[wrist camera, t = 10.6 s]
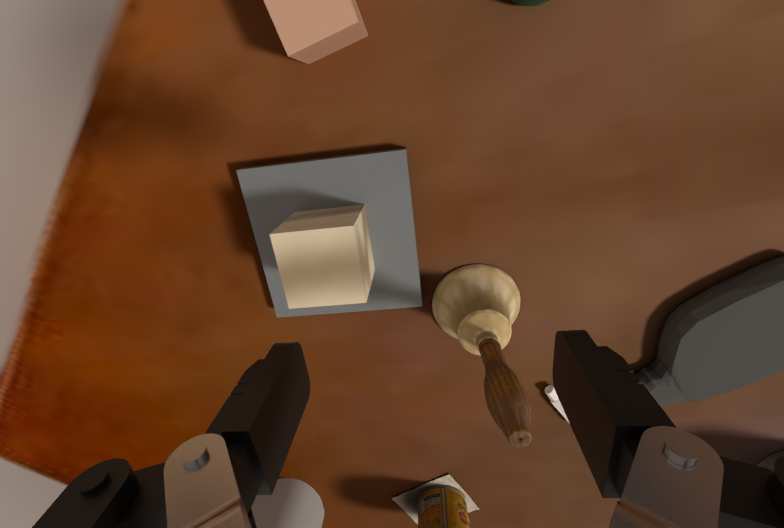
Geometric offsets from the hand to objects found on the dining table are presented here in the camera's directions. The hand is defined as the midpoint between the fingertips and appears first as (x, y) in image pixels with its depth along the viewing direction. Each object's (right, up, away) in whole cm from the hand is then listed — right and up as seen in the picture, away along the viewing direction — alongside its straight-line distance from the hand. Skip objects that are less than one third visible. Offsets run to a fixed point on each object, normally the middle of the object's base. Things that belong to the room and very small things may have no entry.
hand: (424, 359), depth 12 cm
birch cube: (-6, +5, +21) cm, 22 cm away
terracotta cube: (-6, +21, +15) cm, 27 cm away
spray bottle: (+27, -6, +25) cm, 37 cm away
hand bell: (+7, -1, +24) cm, 25 cm away
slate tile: (-6, +6, +22) cm, 23 cm away
